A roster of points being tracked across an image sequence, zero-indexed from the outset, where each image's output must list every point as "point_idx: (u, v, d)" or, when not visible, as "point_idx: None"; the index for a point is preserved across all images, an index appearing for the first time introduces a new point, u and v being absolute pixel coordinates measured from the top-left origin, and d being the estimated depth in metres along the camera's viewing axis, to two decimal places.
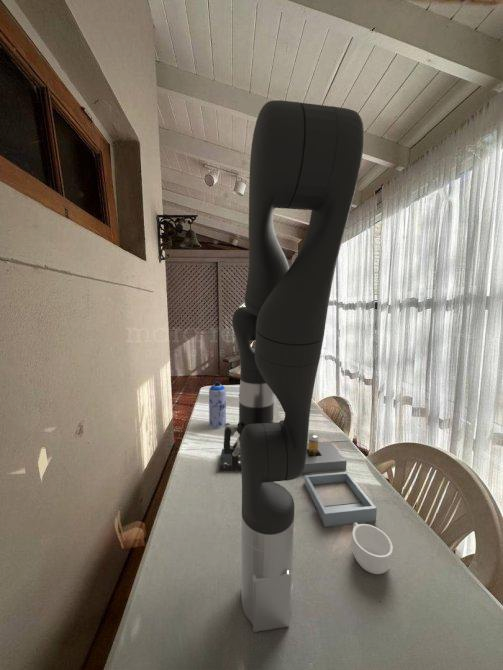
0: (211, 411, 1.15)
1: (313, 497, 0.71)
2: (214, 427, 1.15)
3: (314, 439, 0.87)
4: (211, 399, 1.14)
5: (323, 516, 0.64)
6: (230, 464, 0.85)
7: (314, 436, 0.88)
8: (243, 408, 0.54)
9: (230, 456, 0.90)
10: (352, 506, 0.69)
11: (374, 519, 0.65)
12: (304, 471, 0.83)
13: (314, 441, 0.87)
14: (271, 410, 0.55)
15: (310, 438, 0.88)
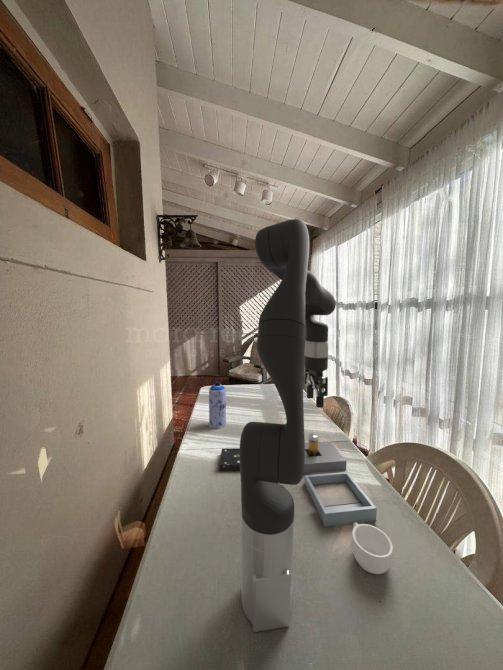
0: (211, 411, 1.15)
1: (313, 497, 0.71)
2: (214, 427, 1.15)
3: (314, 439, 0.87)
4: (211, 399, 1.14)
5: (323, 516, 0.64)
6: (230, 464, 0.85)
7: (314, 436, 0.88)
8: (326, 359, 0.83)
9: (230, 456, 0.90)
10: (352, 506, 0.69)
11: (374, 519, 0.65)
12: (304, 471, 0.83)
13: (314, 441, 0.87)
14: None
15: (310, 438, 0.88)
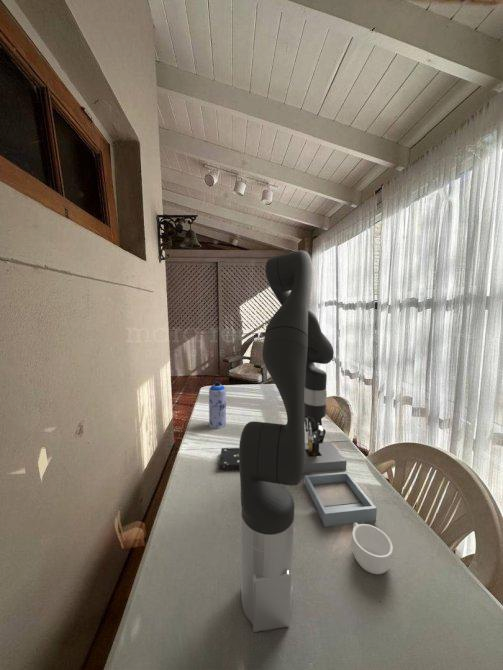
0: (211, 411, 1.15)
1: (313, 497, 0.71)
2: (214, 427, 1.15)
3: None
4: (211, 399, 1.14)
5: (323, 516, 0.64)
6: (230, 463, 0.86)
7: None
8: (324, 406, 0.84)
9: (230, 455, 0.90)
10: (352, 506, 0.69)
11: (374, 519, 0.65)
12: (304, 471, 0.83)
13: None
14: None
15: (310, 438, 0.88)
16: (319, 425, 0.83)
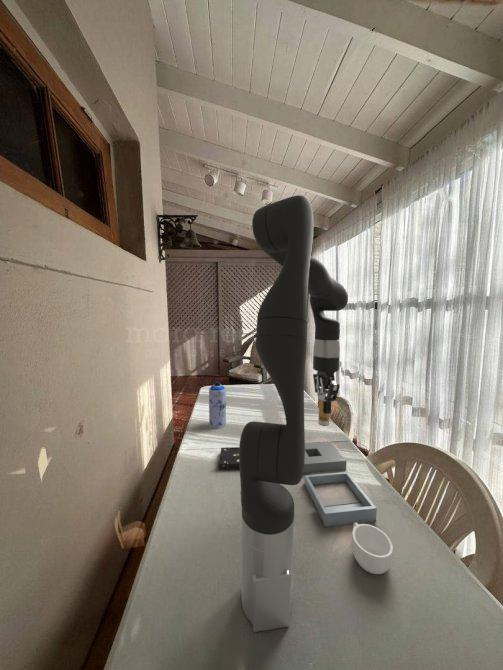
0: (211, 411, 1.15)
1: (313, 497, 0.71)
2: (214, 427, 1.15)
3: None
4: (211, 399, 1.14)
5: (323, 516, 0.64)
6: (229, 463, 0.86)
7: None
8: (337, 359, 0.75)
9: (229, 455, 0.91)
10: (352, 506, 0.69)
11: (374, 519, 0.65)
12: (304, 471, 0.83)
13: None
14: None
15: (321, 397, 0.78)
16: (332, 380, 0.74)
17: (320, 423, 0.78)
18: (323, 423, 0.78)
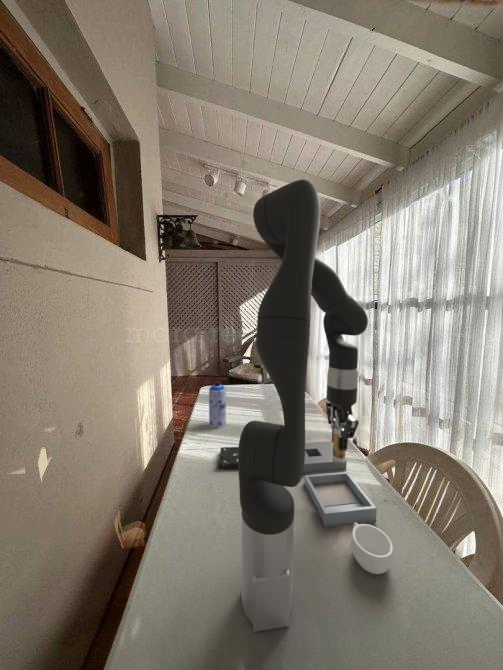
0: (211, 411, 1.15)
1: (313, 497, 0.71)
2: (214, 427, 1.15)
3: None
4: (211, 399, 1.14)
5: (323, 516, 0.64)
6: (229, 462, 0.86)
7: None
8: (355, 391, 0.66)
9: (229, 454, 0.91)
10: (352, 506, 0.69)
11: (374, 519, 0.65)
12: (304, 471, 0.83)
13: None
14: None
15: (336, 431, 0.69)
16: (349, 414, 0.65)
17: (335, 460, 0.69)
18: (338, 460, 0.69)
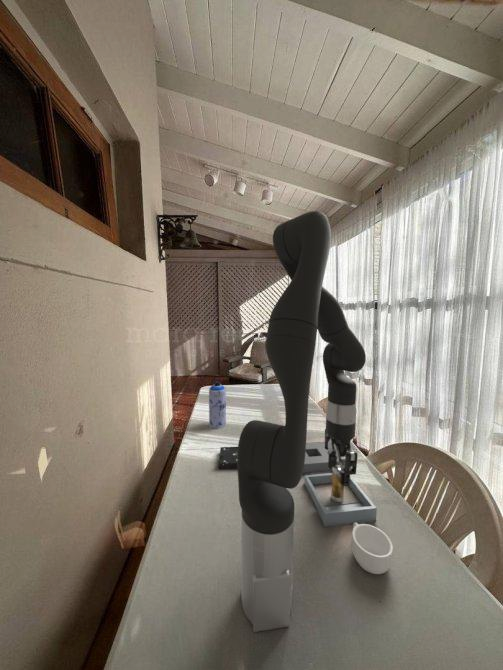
0: (211, 411, 1.15)
1: (313, 497, 0.71)
2: (214, 427, 1.15)
3: (340, 473, 0.69)
4: (211, 399, 1.14)
5: (323, 516, 0.64)
6: (229, 462, 0.86)
7: (339, 469, 0.70)
8: (354, 426, 0.67)
9: (229, 454, 0.91)
10: (352, 506, 0.69)
11: (374, 519, 0.65)
12: (304, 471, 0.83)
13: (340, 475, 0.69)
14: None
15: (334, 472, 0.70)
16: None
17: (333, 500, 0.71)
18: (337, 500, 0.70)
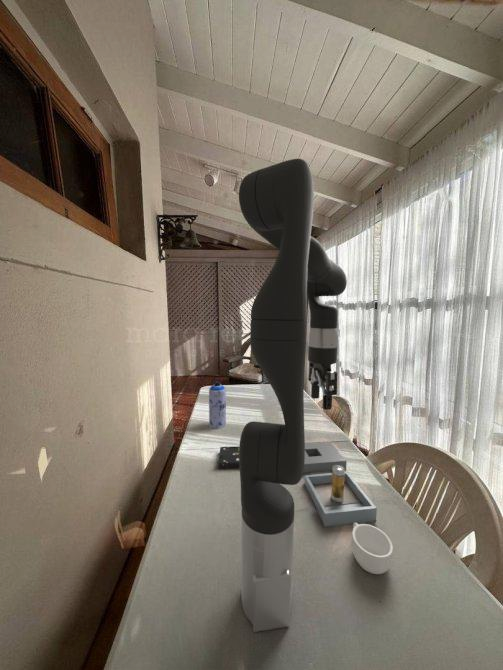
0: (211, 411, 1.15)
1: (313, 497, 0.71)
2: (214, 427, 1.15)
3: (340, 473, 0.69)
4: (211, 399, 1.14)
5: (323, 516, 0.64)
6: (229, 461, 0.87)
7: (339, 469, 0.70)
8: (334, 350, 0.67)
9: (229, 454, 0.91)
10: (352, 506, 0.69)
11: (374, 519, 0.65)
12: (304, 471, 0.83)
13: (340, 476, 0.69)
14: None
15: (334, 472, 0.70)
16: None
17: (333, 500, 0.71)
18: (337, 500, 0.70)
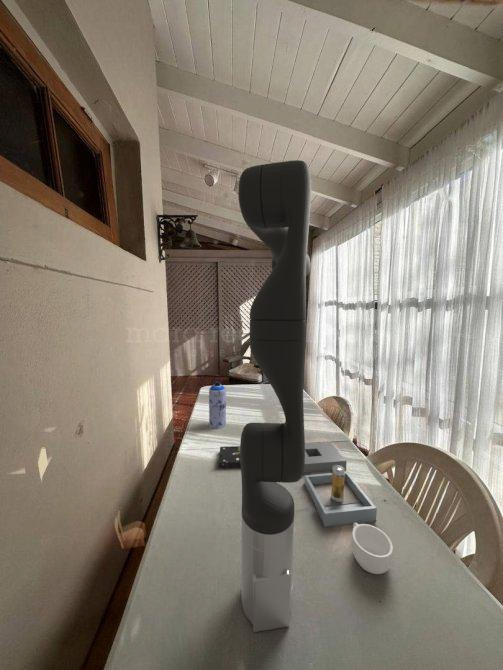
0: (211, 411, 1.15)
1: (313, 497, 0.71)
2: (214, 427, 1.15)
3: (340, 473, 0.69)
4: (211, 399, 1.14)
5: (323, 516, 0.64)
6: (229, 461, 0.87)
7: (339, 469, 0.70)
8: None
9: (228, 453, 0.91)
10: (352, 506, 0.69)
11: (374, 519, 0.65)
12: (304, 471, 0.83)
13: (340, 476, 0.69)
14: None
15: (334, 472, 0.70)
16: None
17: (333, 500, 0.71)
18: (337, 500, 0.70)
